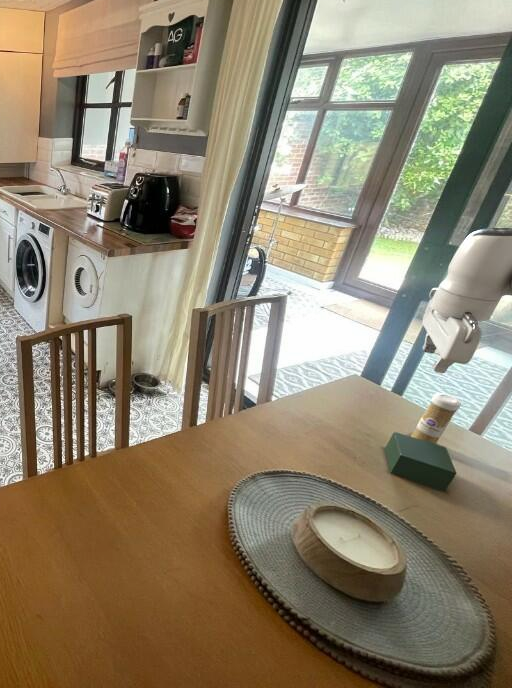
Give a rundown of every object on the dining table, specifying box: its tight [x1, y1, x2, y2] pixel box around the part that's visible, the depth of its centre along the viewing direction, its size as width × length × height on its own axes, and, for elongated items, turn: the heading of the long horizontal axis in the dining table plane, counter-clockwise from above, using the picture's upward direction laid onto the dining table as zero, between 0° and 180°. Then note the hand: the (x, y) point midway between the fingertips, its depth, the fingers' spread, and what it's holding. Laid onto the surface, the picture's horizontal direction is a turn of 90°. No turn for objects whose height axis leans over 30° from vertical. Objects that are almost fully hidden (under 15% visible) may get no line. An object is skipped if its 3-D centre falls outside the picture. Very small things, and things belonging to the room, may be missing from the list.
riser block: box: [384, 431, 457, 492], centre depth 93 cm, size 9×9×6 cm
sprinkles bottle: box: [410, 392, 462, 445], centre depth 99 cm, size 5×5×13 cm
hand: (432, 360), depth 91 cm, fingers open, 8 cm apart
